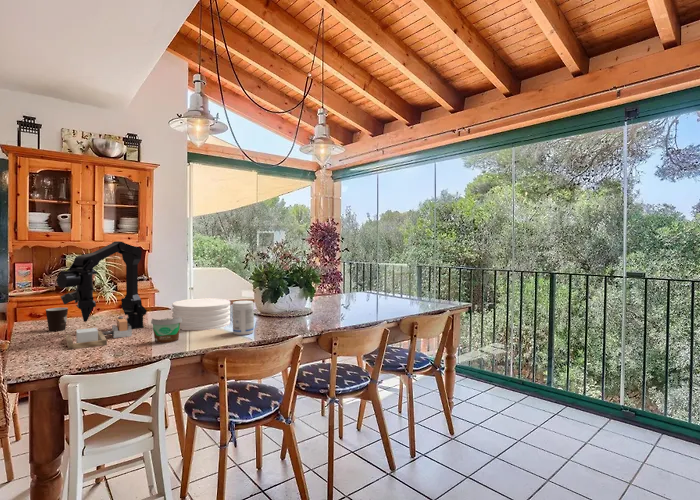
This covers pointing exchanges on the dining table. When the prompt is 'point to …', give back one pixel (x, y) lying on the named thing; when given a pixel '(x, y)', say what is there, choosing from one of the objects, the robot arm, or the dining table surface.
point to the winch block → (119, 332)
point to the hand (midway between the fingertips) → (85, 321)
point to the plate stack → (202, 313)
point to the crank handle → (121, 324)
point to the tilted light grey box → (86, 335)
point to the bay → (86, 344)
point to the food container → (166, 330)
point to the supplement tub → (243, 317)
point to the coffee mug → (56, 319)
